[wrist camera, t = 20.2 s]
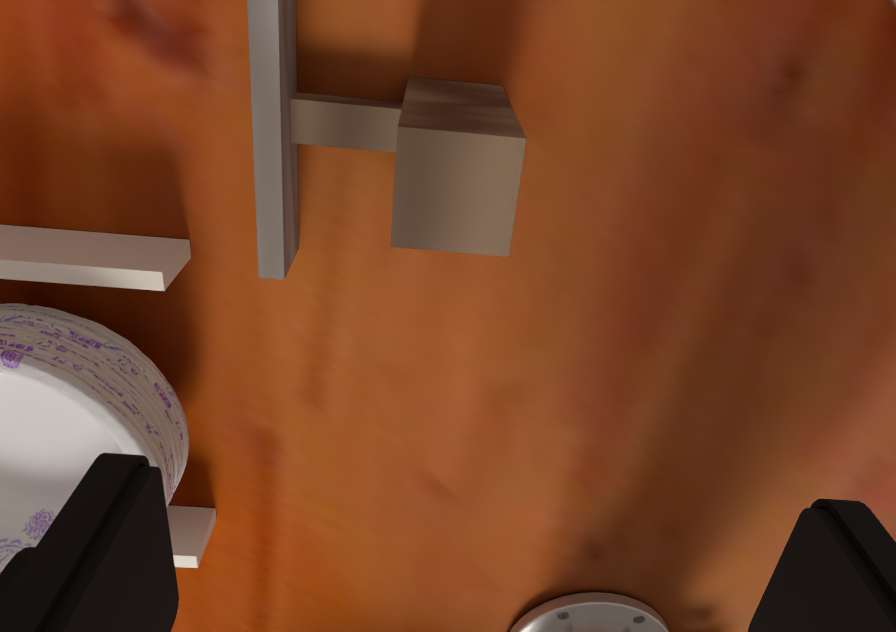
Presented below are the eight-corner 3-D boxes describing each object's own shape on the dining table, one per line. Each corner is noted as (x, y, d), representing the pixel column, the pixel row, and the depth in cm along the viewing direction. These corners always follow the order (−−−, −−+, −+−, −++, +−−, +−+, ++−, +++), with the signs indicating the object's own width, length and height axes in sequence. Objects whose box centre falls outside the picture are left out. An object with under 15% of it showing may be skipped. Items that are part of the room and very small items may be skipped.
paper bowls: (40, 219, 35) (-60, 288, 28) (259, 404, 40) (222, 499, 34) (-115, 378, 39) (-234, 472, 32) (103, 523, 45) (41, 629, 38)
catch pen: (189, 239, 35) (161, 272, 32) (216, 519, 45) (197, 568, 41) (-151, 212, 34) (-218, 242, 31) (-50, 503, 44) (-92, 552, 40)
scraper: (516, -29, 30) (550, -18, 21) (479, 263, 36) (492, 365, 27) (267, -56, 29) (192, -56, 20) (275, 246, 36) (222, 344, 27)
